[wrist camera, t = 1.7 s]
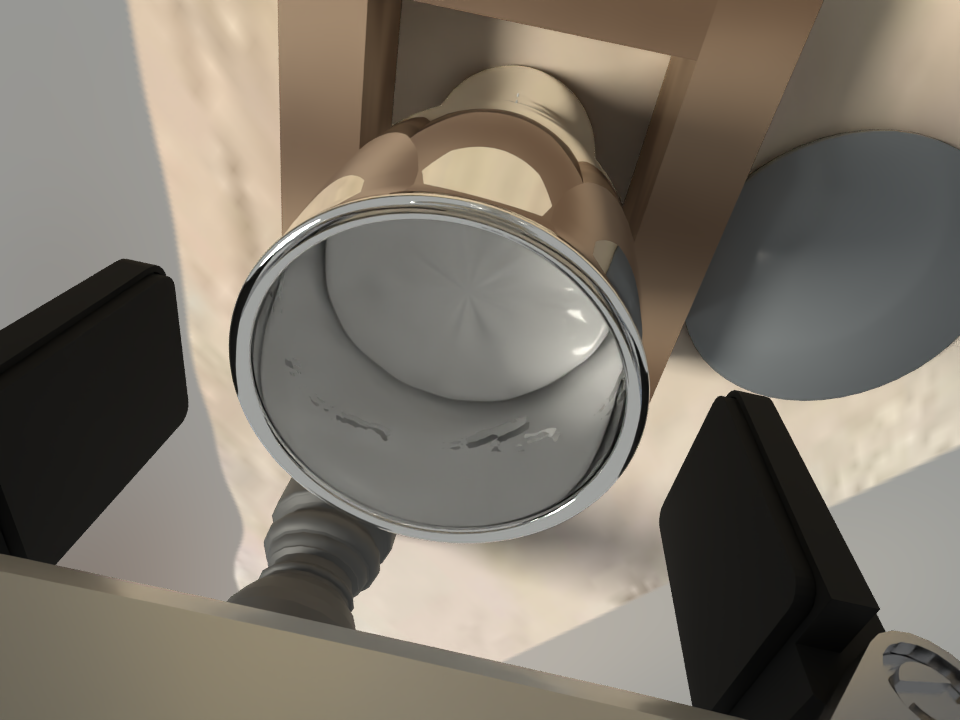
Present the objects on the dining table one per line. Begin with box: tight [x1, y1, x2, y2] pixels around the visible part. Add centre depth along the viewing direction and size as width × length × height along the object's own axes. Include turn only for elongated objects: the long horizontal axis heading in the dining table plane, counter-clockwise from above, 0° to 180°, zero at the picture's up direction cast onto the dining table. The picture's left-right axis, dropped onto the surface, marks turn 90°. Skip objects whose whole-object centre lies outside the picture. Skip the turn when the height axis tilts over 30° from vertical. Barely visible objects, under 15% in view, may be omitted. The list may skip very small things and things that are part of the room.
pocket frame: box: [278, 0, 824, 403], centre depth 20 cm, size 14×14×4 cm
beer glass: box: [229, 65, 650, 544], centre depth 15 cm, size 7×7×15 cm
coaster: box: [685, 130, 960, 401], centre depth 22 cm, size 11×11×1 cm
